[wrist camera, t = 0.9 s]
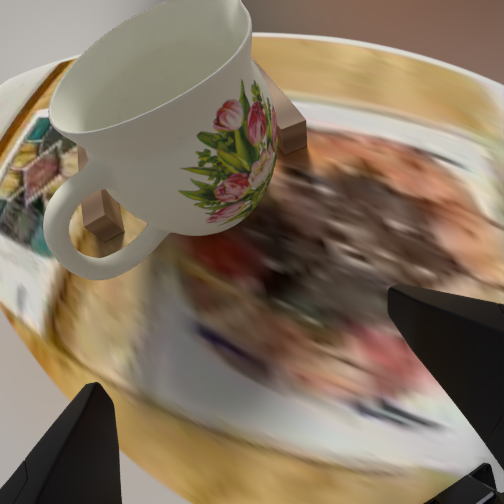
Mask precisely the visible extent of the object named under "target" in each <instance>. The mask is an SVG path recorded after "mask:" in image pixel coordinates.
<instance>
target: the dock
mask: <svg viewBox="0 0 504 504" xmlns="http://www.w3.org/2000/svg"><path fill="white" fill-rule="evenodd" d="M251 59H252V61H253V62H254V63H255V64H256V66H257V67H258V69H259V71H260V73H261V74H262V76H263V78H264V80H265V81H266V83H267V86H268V88H269V91H270V93H271V97H272V100H273V104H274V107H275V112H276V119H277V128H278V146H279V147H280V149H281V150H282V152H283V153H284V155H286V154H288V153H291V152H293V151H296V150H298V149H300V148H303V147H305V146H307V131H306V119H305V118H304V117H303V116H302V114H301V113H300V112H299V111H298V110H297V108H296V107H295V106H294V105H293V104H292V102H291V101H290V100H289V99H288V98H287V96H286V95H285V94H284V93H283V92H282V90H281V89H280V88H279V87H278V86H277V85H276V84H275V82H274V81H273V80H272V79H271V78H270V77H269V76H268V75H267V73H266V72H265V71H264V70H263V69H262V68H261V67H260V66H259V65H258V63H257V62H256V61H255V60H254V59H253V58H252V57H251ZM88 160H89V159H88V156H87V153H86V150H85V149H84V148H83V147H81V146H80V145H78V166H79V171H81V170H82V169H83V168H84V167H85V166H86V164H87V162H88ZM81 205H82V215H83V223H84V227H85V228H86V229H87V230H89V231H90V232H92V233H93V234H94V235H96V236H97V237H99V238H100V239H101V240H103V241H104V242H106V241H108V240H109V239H111V238H113V237H115V236H117V235H118V234H120V233H122V232H124V227H123V222H122V217H121V213H120V208H119V203H118V202H117V201H116V200H115V199H113V197H112V196H111V195H110V194H109V193H108V192H107V190H106V189H104V190H99V191H96V192H94V193H92V194H91V195H89V196H88V197H87V198H86V199H85V200H83V201H82V202H81Z"/></svg>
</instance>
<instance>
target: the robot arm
mask: <svg viewBox="0 0 504 504" xmlns="http://www.w3.org/2000/svg"><path fill="white" fill-rule="evenodd" d="M387 309H388V314H389V317H390V318H391V320H392V321H393V323H394V324H395V326H396V327H397V329H398V330H399V332H400V333H401V335H402V336H403V338H404V339H405V341H406V342H407V344H408V345H409V347H410V348H411V349H412V351H413V352H414V353H415V355H416V356H417V357H418V358H419V360H420V361H421V362H422V363H423V364H424V366H425V367H426V368H427V369H428V371H429V372H430V373H431V374H432V375H433V377H434V378H435V379H436V380H437V382H438V383H439V384H440V385H441V387H442V388H443V389H444V390H445V392H446V393H447V394H448V396H449V397H450V398H451V399H452V401H453V402H454V403H455V404H456V406H457V407H458V408H459V410H460V411H461V412H462V414H463V415H464V416H465V417H466V419H467V420H468V421H469V423H470V424H471V425H472V427H473V428H474V429H475V431H476V432H477V433H478V435H479V436H480V438H481V439H482V440H483V442H484V443H485V445H486V446H487V447H488V449H489V450H490V452H491V453H492V454H493V456H494V457H495V459H496V460H497V461H498V463H499V464H500V466H501V467H502V469H503V470H504V304H500V303H498V304H497V303H495V302H490V301H485V300H480V299H475V298H470V297H465V296H460V295H455V294H450V293H445V292H440V291H435V290H430V289H425V288H420V287H415V286H410V285H406V284H397V285H394V286H392V287H390V288H389V289H388V308H387ZM119 462H120V461H119V444H118V436H117V428H116V418H115V408H114V404H113V401H112V399H111V398H110V397H109V395H108V394H107V392H106V391H105V390H104V388H103V387H102V386H101V384H100V383H98V382H94V383H89V384H86V385H85V386H84V387H83V388H82V389H81V391H80V392H79V393H78V394H77V395H76V397H75V398H74V399H73V400H72V401H71V403H70V404H69V405H68V406H67V407H66V409H65V410H64V411H63V412H62V414H61V415H60V416H59V417H58V418H57V420H56V421H55V422H54V423H53V424H52V426H51V427H50V428H49V429H48V431H47V432H46V433H45V434H44V436H43V437H42V438H41V439H40V441H39V442H38V443H37V444H36V446H35V447H34V448H33V449H32V451H31V452H30V453H29V454H28V456H27V457H26V458H25V460H24V461H23V462H22V463H21V465H20V466H19V467H18V468H17V470H16V471H15V472H14V473H13V475H12V476H11V477H10V478H9V480H8V481H7V482H6V483H5V484H4V485H3V486H2V487H1V489H0V504H122V498H121V483H120V463H119ZM485 467H486V469H485V471H483V469H484V468H485ZM424 504H504V492H503V493H500V492H498V491H497V489H496V484H495V480H494V476H493V472H492V468H491V465H490V464H488V463H483V464H481V465H480V466H479V467H478V468H476V469H475V470H474V471H472V472H471V473H470V474H468V475H466V476H464V477H463V478H462V479H460V480H459V481H457V482H456V483H454V484H453V485H451V486H450V487H448V488H447V489H445V490H444V491H442V492H441V493H439V494H438V495H437V496H435V497H434V498H432V499H431V500H429V501H427V502H426V503H424Z"/></svg>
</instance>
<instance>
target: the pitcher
mask: <svg viewBox="0 0 504 504" xmlns="http://www.w3.org/2000/svg"><path fill="white" fill-rule="evenodd" d="M251 44H252V27H251V18H250V15H249V12H248V11H247V9H246V8H245V7H244V5H243V4H242V2H241V0H167V1H165V2H163V3H160V4H158V5H156V6H154V7H151V8H149V9H147V10H145V11H143V12H141V13H139V14H137V15H135V16H133V17H131V18H130V19H128V20H126V21H125V22H123V23H121V24H120V25H118V26H117V27H115V28H114V29H112V30H111V31H109V32H108V33H107V34H105V35H104V36H103V37H101V38H100V39H99V40H98V41H96V42H95V43H94V44H93V45H92V46H91V47H89V48H88V49H87V50H86V51H85V52H84V53H83V54H82V55H81V56H80V57H79V58H78V59H77V60H76V61H75V62H74V63H73V64H72V65H71V67H70V68H69V69H68V70H67V71H66V73H65V74H64V76H63V77H62V78H61V80H60V81H59V83H58V85H57V87H56V88H55V90H54V93H53V95H52V97H51V100H50V104H49V110H48V112H49V119H50V122H51V124H52V126H53V127H54V128H55V129H56V130H57V131H58V132H59V133H60V134H62V135H63V136H65V137H66V138H68V139H70V140H72V141H73V142H75V143H77V144H78V145H80V146H81V147H83V148H84V149H85V150H86V153H87V156H88V159H89V160H88V162H87V164H86V166H85V167H84V168H83V169H82V170H81V171H79V172H78V173H76V174H75V175H73V176H72V177H70V178H69V179H68V180H67V181H66V182H64V183H63V184H62V186H61V187H60V188H59V189H58V190H57V191H56V192H55V194H54V195H53V197H52V198H51V200H50V201H49V204H48V206H47V209H46V212H45V216H44V223H43V228H44V237H45V240H46V243H47V246H48V248H49V250H50V251H51V252H52V254H53V255H54V257H55V258H56V259H57V261H58V262H59V263H61V264H62V265H63V266H64V267H65V268H66V269H68V270H69V271H70V272H72V273H74V274H76V275H78V276H80V277H82V278H86V279H89V280H106V279H111V278H114V277H117V276H119V275H122V274H124V273H126V272H127V271H129V270H131V269H132V268H134V267H136V266H137V265H138V264H140V263H141V262H142V261H143V260H144V259H146V258H147V257H148V256H149V255H150V254H151V253H152V252H153V251H154V250H155V249H156V247H157V246H158V245H159V244H160V243H161V242H162V241H163V240H164V238H165V237H166V236H167V235H169V234H170V233H172V232H173V233H177V234H182V235H189V236H203V235H210V234H215V233H219V232H222V231H225V230H227V229H229V228H231V227H233V226H235V225H236V224H238V223H240V222H241V221H242V220H243V219H245V218H246V217H247V216H248V215H249V214H250V213H251V212H252V211H253V210H254V209H255V208H256V206H257V205H258V204H259V202H260V201H261V199H262V197H263V196H264V194H265V192H266V190H267V188H268V185H269V183H270V180H271V178H272V175H273V171H274V167H275V162H276V157H277V146H278V128H277V119H276V112H275V107H274V104H273V100H272V97H271V93H270V91H269V88H268V86H267V83H266V81H265V80H264V78H263V76H262V74H261V73H260V71H259V69H258V67H257V66H256V64H255V63H254V62H253V61H252V59H251ZM104 189H106V190H107V192H108V193H109V194H110V195H111V196H112V197H113V199H115V200H116V201H117V202H118V203H119V204H120V205H121V206H122V207H124V208H125V209H126V210H127V211H129V212H130V213H131V214H133V215H134V216H135V217H137V218H139V219H141V220H143V221H144V222H146V223H147V226H146V227H145V229H144V230H143V231H142V232H141V234H140V235H139V236H138V237H137V238H136V239H135V240H133V241H132V242H131V243H130V244H128V245H127V246H126V247H124V248H122V249H121V250H119V251H117V252H115V253H113V254H111V255H109V256H106V257H103V258H92V257H89V256H86V255H83V254H82V253H80V252H78V251H77V250H76V249H75V247H74V245H73V243H72V242H71V238H70V235H69V224H70V220H71V217H72V215H73V213H74V211H75V210H76V208H77V207H78V206H79V205H80V203H81V202H82V201H83V200H85V199H86V198H87V197H88V196H89V195H91V194H92V193H94V192H96V191H99V190H104Z"/></svg>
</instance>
